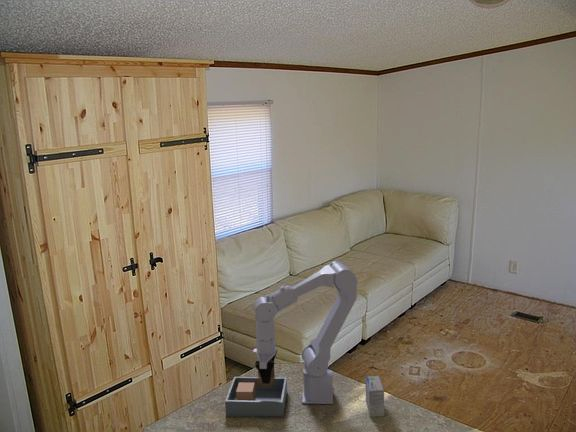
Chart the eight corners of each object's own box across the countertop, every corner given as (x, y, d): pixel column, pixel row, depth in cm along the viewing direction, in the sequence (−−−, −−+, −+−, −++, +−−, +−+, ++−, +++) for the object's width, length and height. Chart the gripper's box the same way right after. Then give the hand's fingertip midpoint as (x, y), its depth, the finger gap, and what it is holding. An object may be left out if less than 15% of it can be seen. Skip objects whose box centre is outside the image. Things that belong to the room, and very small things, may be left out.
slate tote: (287, 391, 148) (286, 377, 147) (283, 417, 136) (282, 402, 135) (235, 390, 150) (234, 376, 149) (226, 416, 137) (224, 401, 136)
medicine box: (384, 417, 134) (384, 390, 132) (369, 417, 134) (369, 390, 132) (379, 400, 142) (379, 375, 140) (365, 401, 142) (365, 375, 140)
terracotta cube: (239, 396, 146) (238, 382, 145) (255, 396, 145) (254, 382, 144) (237, 406, 141) (236, 391, 140) (253, 406, 140) (252, 391, 139)
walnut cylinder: (260, 378, 144) (259, 358, 143) (276, 379, 143) (275, 359, 142) (256, 387, 139) (255, 366, 138) (273, 388, 138) (272, 367, 137)
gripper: (256, 326, 145) (258, 365, 148) (248, 348, 131) (250, 391, 134) (278, 326, 145) (280, 365, 147) (272, 348, 130) (274, 391, 133)
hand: (267, 377), depth 141 cm, fingers closed on walnut cylinder, 5 cm apart
